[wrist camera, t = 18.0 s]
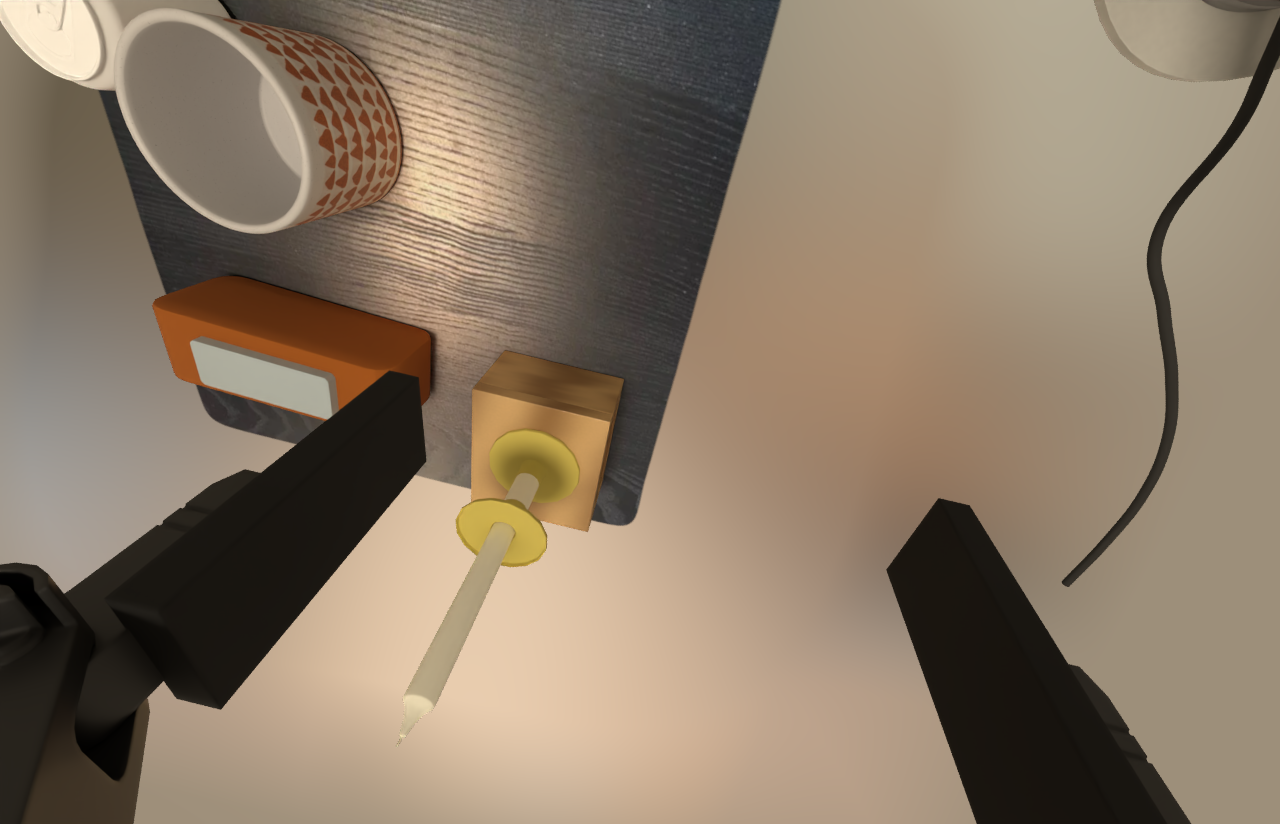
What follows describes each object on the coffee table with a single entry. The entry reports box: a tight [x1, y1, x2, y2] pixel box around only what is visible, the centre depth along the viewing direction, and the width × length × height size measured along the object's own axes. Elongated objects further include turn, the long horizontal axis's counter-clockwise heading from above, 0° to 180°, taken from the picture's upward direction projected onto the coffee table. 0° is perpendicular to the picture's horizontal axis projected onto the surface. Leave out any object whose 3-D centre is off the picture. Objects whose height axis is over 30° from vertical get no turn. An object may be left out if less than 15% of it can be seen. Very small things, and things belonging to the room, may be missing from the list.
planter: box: [114, 8, 402, 234], centre depth 39 cm, size 14×14×13 cm
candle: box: [396, 428, 580, 747], centre depth 40 cm, size 10×10×27 cm
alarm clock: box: [152, 276, 431, 421], centre depth 52 cm, size 24×8×11 cm, turn 75°
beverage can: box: [0, 0, 231, 90], centre depth 37 cm, size 8×8×12 cm
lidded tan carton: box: [471, 350, 624, 532], centre depth 55 cm, size 14×16×9 cm
